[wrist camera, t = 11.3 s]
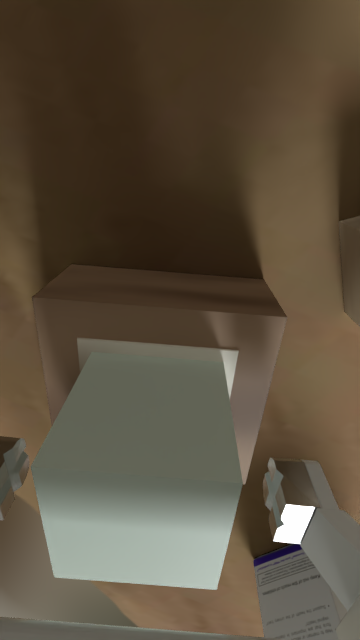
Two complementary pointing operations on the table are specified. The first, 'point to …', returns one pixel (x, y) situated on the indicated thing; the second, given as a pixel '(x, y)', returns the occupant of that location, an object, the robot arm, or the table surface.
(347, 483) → the table surface
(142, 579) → the sage block
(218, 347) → the walnut base
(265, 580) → the supplement box
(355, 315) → the block
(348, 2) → the table surface
